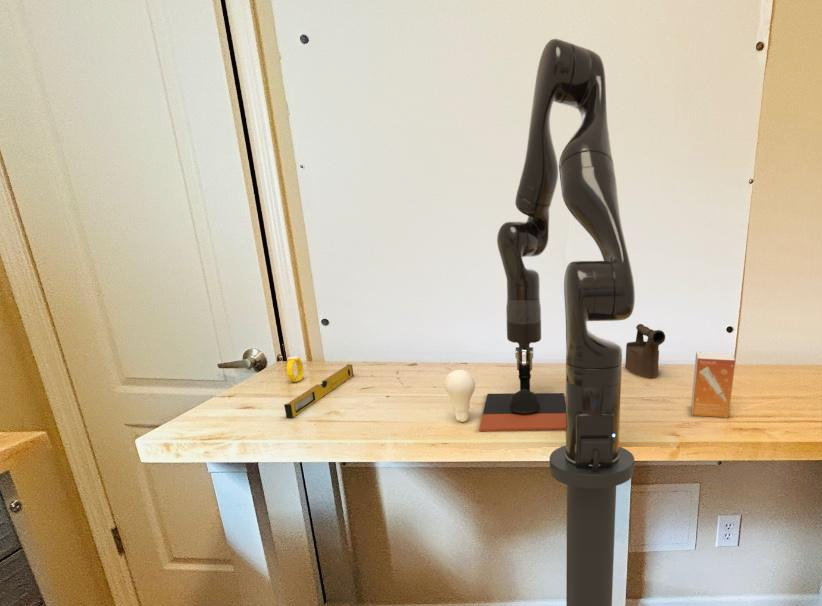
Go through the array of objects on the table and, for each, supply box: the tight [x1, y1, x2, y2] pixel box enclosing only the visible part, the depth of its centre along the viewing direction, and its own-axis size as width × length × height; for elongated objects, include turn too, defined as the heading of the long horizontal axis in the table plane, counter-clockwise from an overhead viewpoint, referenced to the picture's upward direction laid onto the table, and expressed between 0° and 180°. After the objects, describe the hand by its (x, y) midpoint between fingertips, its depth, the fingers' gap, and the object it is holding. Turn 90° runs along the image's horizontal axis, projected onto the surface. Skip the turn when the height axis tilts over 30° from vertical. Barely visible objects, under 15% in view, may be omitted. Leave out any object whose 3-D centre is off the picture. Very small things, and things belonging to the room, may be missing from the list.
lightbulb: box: [443, 369, 476, 423], centre depth 124 cm, size 6×6×11 cm
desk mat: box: [478, 392, 566, 432], centre depth 133 cm, size 24×18×1 cm
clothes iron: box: [624, 323, 666, 379], centre depth 163 cm, size 8×16×13 cm, turn 13°
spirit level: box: [283, 364, 354, 419], centre depth 140 cm, size 33×1×3 cm, turn 0°
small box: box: [690, 351, 736, 419], centre depth 133 cm, size 8×6×13 cm
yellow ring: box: [286, 355, 304, 383], centre depth 150 cm, size 6×3×6 cm, turn 2°
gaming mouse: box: [510, 389, 539, 414], centre depth 134 cm, size 6×15×4 cm, turn 8°
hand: (525, 394), depth 139 cm, fingers closed
